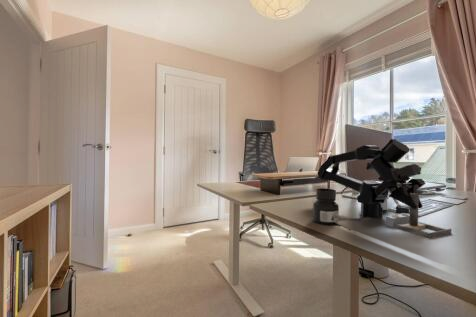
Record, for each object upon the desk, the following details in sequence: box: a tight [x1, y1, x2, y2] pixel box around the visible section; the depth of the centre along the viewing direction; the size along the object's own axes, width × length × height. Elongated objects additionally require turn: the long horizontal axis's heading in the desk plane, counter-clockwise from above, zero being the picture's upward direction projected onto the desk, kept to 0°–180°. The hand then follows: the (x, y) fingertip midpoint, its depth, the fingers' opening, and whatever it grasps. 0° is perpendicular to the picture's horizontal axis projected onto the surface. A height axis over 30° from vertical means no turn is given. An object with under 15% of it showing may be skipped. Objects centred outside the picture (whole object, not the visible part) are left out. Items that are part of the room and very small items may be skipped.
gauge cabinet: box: [385, 212, 410, 228], centre depth 79 cm, size 2×11×4 cm, turn 112°
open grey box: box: [393, 221, 452, 239], centre depth 74 cm, size 13×11×2 cm
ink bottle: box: [312, 187, 340, 226], centre depth 84 cm, size 10×9×12 cm
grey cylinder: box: [403, 192, 427, 230], centre depth 74 cm, size 3×8×11 cm, turn 112°
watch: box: [392, 198, 410, 214], centre depth 96 cm, size 6×8×11 cm
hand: (418, 207), depth 73 cm, fingers closed on grey cylinder, 2 cm apart
